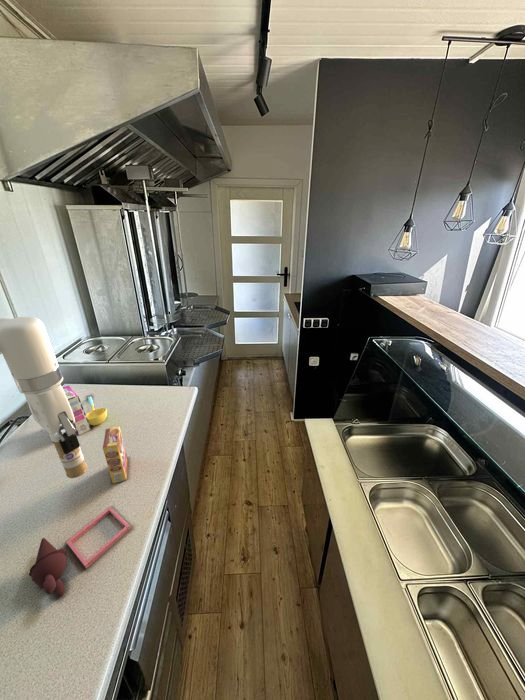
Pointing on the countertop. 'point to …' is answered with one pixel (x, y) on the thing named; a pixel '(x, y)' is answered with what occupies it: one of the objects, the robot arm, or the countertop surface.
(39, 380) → the robot arm
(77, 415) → the candy bar box
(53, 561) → the icecream
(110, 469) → the candy box
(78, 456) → the sprinkles bottle
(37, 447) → the countertop surface
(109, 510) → the pink rectangular frame
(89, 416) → the ladle
